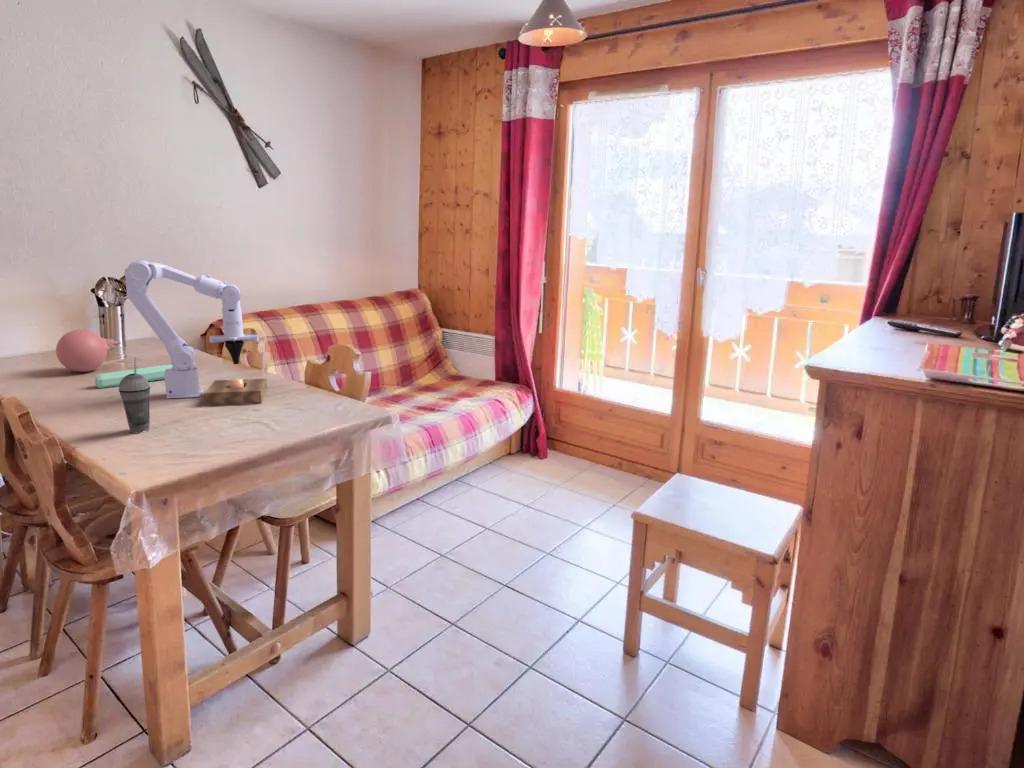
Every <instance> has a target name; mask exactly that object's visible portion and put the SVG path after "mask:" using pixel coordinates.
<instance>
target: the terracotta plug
mask: <svg viewBox="0 0 1024 768" xmlns="http://www.w3.org/2000/svg"><path fill="white" fill-rule="evenodd" d="M243 379H244V378H242V377H241V378H240V377H239V378H238V377H236V378H235V377H233V378H231V379H229V380H230V388H239V387H244V383H243Z"/></svg>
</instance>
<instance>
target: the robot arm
mask: <svg viewBox="0 0 1024 768" xmlns="http://www.w3.org/2000/svg"><path fill="white" fill-rule="evenodd" d="M124 276H125V287H126V296H127V298H128V299H129V301H130V302H131V303H132V305H133V306H134V307H135V309H136V310H137V312H139V314H140V316H142V318H143V319H144V320H145V322H146V323H147V324H148V325H149V327H150V328H151V329H152V331H153V332H154V333H155V335H157V338H158V339H159V340H160V341H161V342H162V344H163V345H164V347H165V349H166V352H167V353H168V355H169V357H170V360H171V364H173V365H174V366H173V367H172V368H171V369H166V370H165V379H164V385H165V392H166V396H165V398H166V399H182V398H183V399H184V398H187V399H188V398H199V397H200V396H201V395H202V394H203V392H204V391H205V390H204V389H201V388H200V378H199V369H198V367H199V366H198V365H197V364H196V363H195V360H196V357H197V353H196V350H195V348H194V347H192V346H191V345H188V344H187V343H186V341H185V340H184V339H183V338H182V337H180V336H179V335H178V333H177V331H176V330H175V329H174V328H173V327H172V326H171V324H170V323H169V321H168V320H167V319H166V317H165V316H164V314H162V312H161V311H160V309H159V307H157V306H156V304H155V303H154V302H153V300H152V299H151V297H150V296H149V295H148V293H147V292H148V289H149V285H150V282H151V280H160V279H168V280H172V281H174V282H178V283H181V284H184V285H187V286H190V287H193V288H194V291H195V292H196V293H199V294H201V295H204V296H207V297H210V298H213V299H217V300H218V299H221V301H222V302H221V304H222V307H221V312H222V313H221V314H222V326H223V334H221V335H210V336H209V338H208V339H209V343H210V344H211V343H224V346H225V348H226V350H227V351H228V353H229V355H230V357H231V359H232V363H233V365H239V364H240V357H241V352H242V350H243V347H244V344H245V342H255V343H257V342H258V343H259V340H260V339H259V334H244V324H243V314H242V311H243V310H242V307H241V305H242V304H241V290H240V289H239V287H238V286H236V285H235V284H233V283H228V282H227V280H223V281H221V280H219V279H215V278H213V277H212V275H210V274H208V273H207V274H206V275H204V274H201V275H198V276H195V275H192V274H190V273H187V272H185V271H183V270H180V269H177V268H175V267H171V266H170V265H166V264H164V263H160V262H155V261H152V262H151V261H150V260H148V259H144V258H143V259H138V260H136V261H133V262H131V263H129V265H128V267H127V269H126V271H125V274H124Z"/></svg>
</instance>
